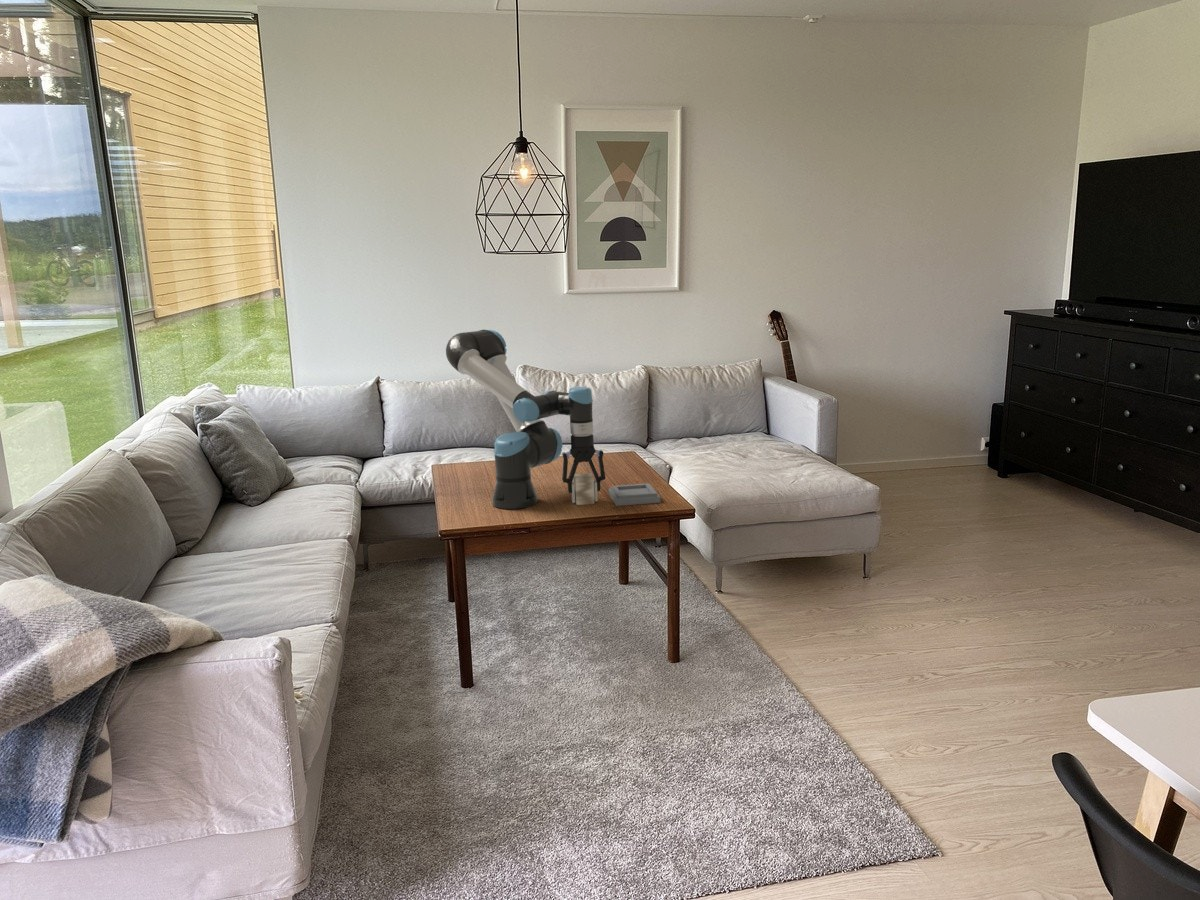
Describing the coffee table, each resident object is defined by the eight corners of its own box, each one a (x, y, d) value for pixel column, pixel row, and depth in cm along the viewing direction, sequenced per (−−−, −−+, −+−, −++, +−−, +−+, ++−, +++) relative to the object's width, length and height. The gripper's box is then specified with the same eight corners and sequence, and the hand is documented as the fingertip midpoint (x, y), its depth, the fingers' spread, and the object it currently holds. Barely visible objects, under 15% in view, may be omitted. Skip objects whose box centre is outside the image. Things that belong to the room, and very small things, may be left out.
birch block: (576, 504, 291) (575, 478, 289) (574, 500, 296) (573, 474, 294) (594, 503, 291) (593, 477, 289) (591, 498, 297) (591, 473, 295)
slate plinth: (615, 505, 288) (615, 497, 287) (608, 493, 302) (608, 485, 302) (660, 502, 290) (660, 493, 289) (651, 490, 304) (651, 482, 304)
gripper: (553, 438, 284) (556, 506, 289) (613, 434, 286) (615, 502, 291) (550, 433, 291) (554, 500, 296) (609, 430, 294) (612, 496, 299)
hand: (584, 501), depth 294 cm, fingers open, 7 cm apart
